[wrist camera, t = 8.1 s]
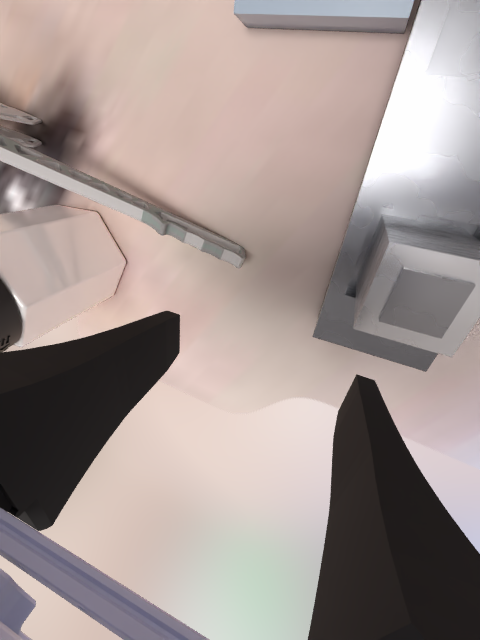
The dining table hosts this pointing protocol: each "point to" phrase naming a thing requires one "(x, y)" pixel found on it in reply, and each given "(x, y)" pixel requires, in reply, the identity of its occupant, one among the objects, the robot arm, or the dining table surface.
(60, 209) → the jar
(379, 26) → the tray
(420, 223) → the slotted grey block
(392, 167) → the slotted metal plate
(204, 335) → the dining table surface
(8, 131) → the bracket
